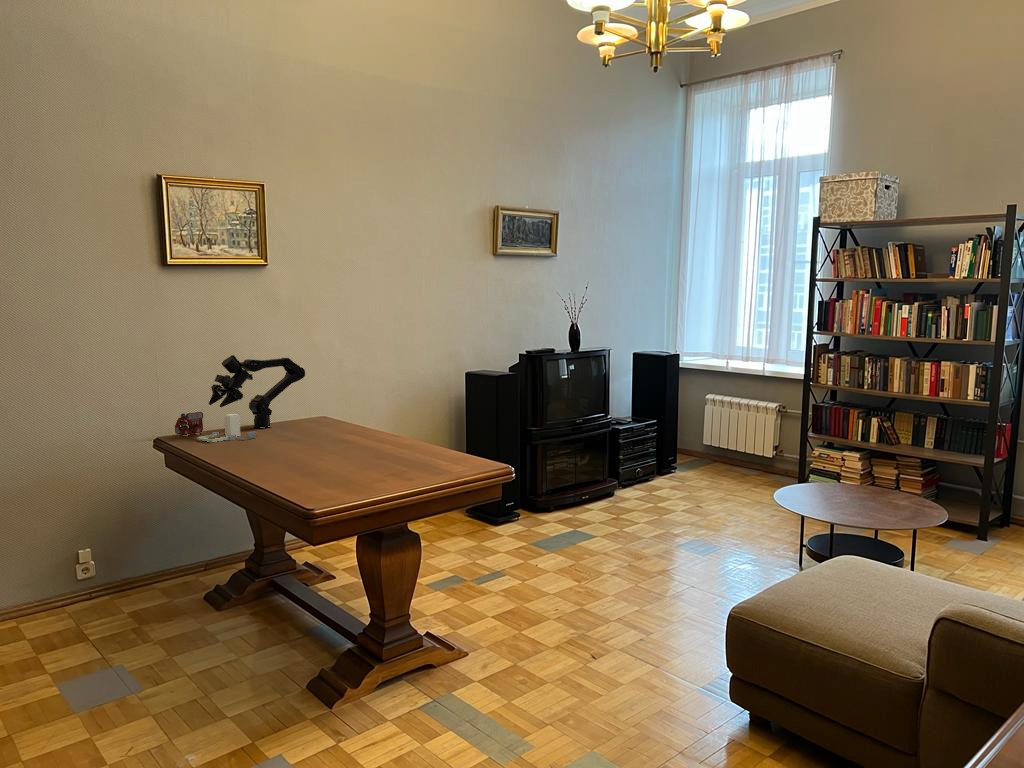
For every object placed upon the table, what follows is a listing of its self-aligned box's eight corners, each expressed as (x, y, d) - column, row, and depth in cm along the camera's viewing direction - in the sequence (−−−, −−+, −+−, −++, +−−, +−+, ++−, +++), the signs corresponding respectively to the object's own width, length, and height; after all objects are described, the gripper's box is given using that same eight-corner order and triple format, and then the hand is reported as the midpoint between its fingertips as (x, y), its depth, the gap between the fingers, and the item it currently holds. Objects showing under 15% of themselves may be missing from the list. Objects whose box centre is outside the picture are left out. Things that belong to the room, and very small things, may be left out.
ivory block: (234, 435, 338) (233, 413, 337) (240, 436, 336) (239, 414, 334) (225, 437, 335) (224, 415, 334) (231, 438, 332) (229, 415, 331)
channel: (231, 431, 348) (230, 427, 348) (263, 437, 333) (263, 432, 333) (205, 436, 338) (204, 431, 338) (237, 441, 323) (236, 437, 322)
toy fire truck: (173, 436, 341) (171, 413, 340) (201, 432, 349) (200, 410, 348) (177, 438, 336) (176, 415, 335) (206, 434, 343) (204, 411, 342)
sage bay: (215, 437, 335) (215, 434, 334) (229, 439, 328) (229, 436, 328) (196, 440, 328) (196, 437, 327) (210, 443, 321) (210, 439, 321)
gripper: (215, 366, 348) (192, 391, 340) (237, 370, 336) (214, 395, 329) (230, 383, 355) (208, 407, 347) (252, 386, 343) (230, 412, 336)
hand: (214, 405), depth 340 cm, fingers open, 9 cm apart
